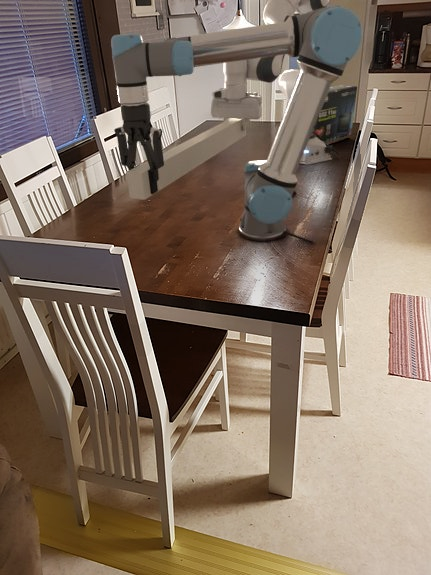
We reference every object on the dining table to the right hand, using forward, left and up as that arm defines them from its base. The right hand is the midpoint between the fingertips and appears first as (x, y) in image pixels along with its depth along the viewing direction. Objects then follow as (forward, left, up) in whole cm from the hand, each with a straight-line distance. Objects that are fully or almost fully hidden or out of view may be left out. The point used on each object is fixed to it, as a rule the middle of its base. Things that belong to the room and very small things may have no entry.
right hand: (236, 129), depth 180 cm
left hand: (+46, +51, -2) cm, 69 cm away
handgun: (-14, +11, -22) cm, 29 cm away
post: (+23, +26, -3) cm, 34 cm away
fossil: (+13, -50, -22) cm, 56 cm away
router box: (-66, -44, -22) cm, 83 cm away
